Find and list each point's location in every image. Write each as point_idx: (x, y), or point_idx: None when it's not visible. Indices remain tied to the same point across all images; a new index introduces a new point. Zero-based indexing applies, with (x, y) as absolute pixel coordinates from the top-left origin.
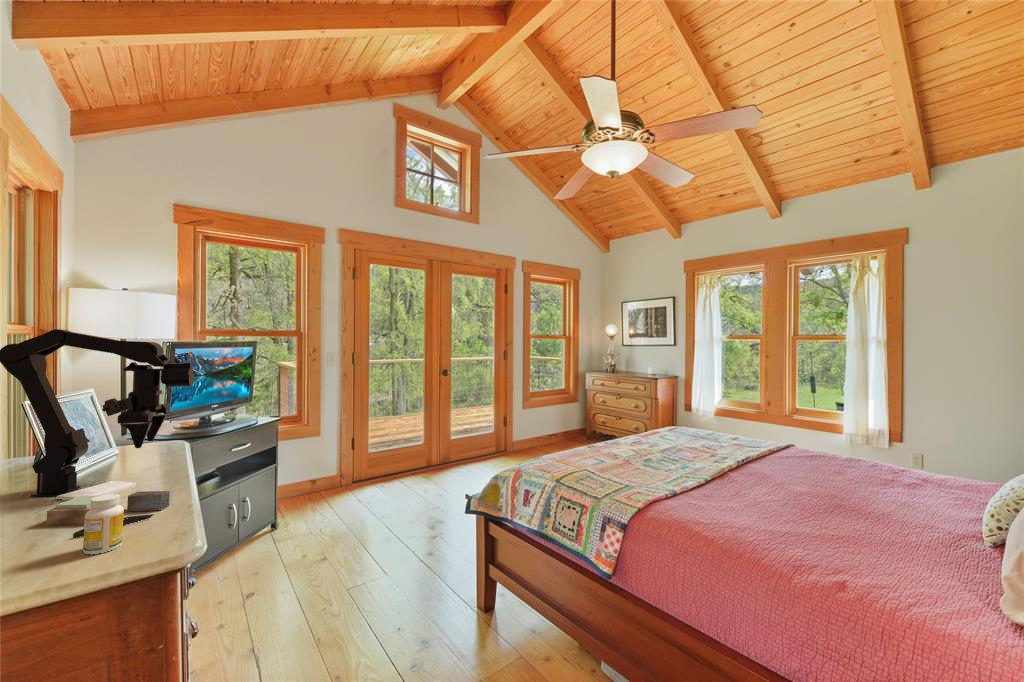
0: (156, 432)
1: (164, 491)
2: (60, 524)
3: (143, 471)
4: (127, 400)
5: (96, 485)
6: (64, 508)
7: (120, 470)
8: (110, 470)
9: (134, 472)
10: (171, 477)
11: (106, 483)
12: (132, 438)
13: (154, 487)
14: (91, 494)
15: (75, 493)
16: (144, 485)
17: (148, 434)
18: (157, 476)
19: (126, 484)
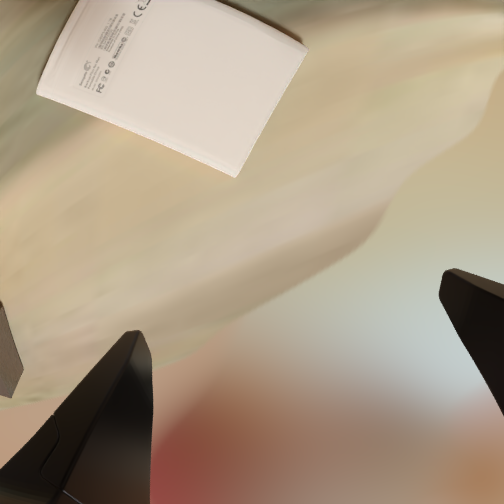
0: (475, 360)
1: (4, 390)
2: None
3: (468, 111)
4: None
5: (230, 20)
6: None
7: (492, 35)
8: (494, 8)
9: (464, 83)
10: (347, 252)
11: (259, 46)
12: (66, 401)
13: (202, 258)
14: (77, 89)
15: (113, 9)
16: (245, 203)
17: (483, 304)
18: (383, 191)
19: (213, 150)
